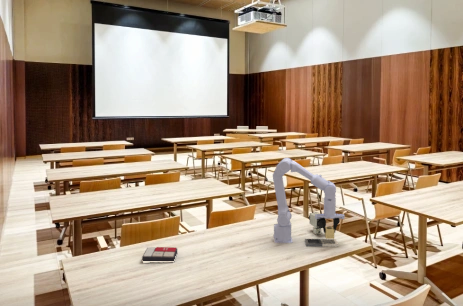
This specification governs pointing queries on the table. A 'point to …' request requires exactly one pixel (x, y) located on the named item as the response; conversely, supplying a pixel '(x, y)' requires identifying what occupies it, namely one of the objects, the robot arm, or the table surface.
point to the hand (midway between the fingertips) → (329, 232)
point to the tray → (321, 243)
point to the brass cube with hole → (329, 232)
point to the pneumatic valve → (315, 223)
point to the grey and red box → (159, 254)
